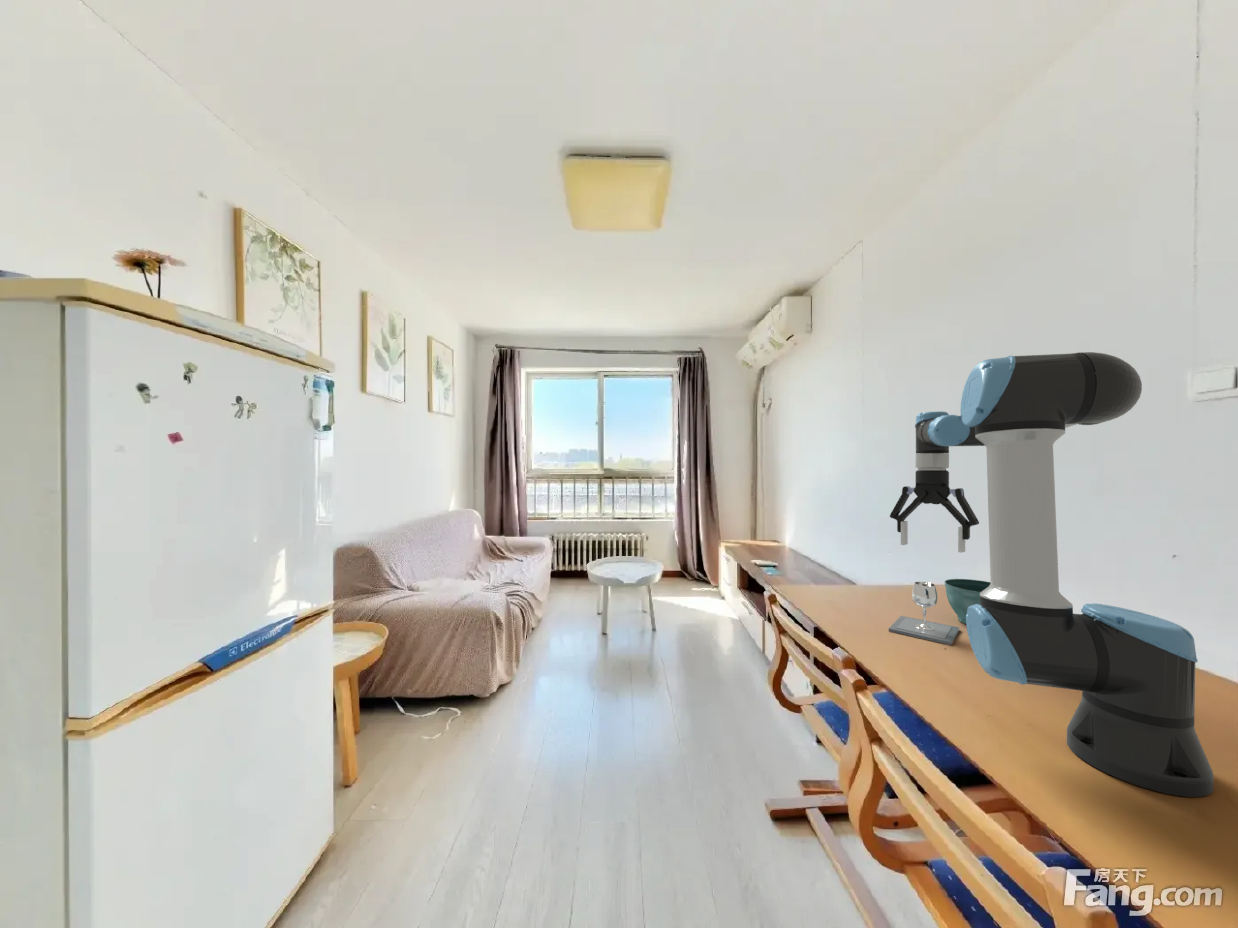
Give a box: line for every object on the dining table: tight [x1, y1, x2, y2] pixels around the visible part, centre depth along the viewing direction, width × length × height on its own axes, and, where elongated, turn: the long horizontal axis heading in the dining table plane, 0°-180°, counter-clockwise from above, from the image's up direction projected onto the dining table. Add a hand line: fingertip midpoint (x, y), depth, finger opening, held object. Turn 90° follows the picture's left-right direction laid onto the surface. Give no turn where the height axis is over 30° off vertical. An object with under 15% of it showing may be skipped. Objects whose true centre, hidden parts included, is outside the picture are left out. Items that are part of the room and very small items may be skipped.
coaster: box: [888, 615, 960, 646], centre depth 127 cm, size 14×14×1 cm
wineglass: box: [911, 581, 938, 631], centre depth 127 cm, size 6×6×12 cm
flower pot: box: [944, 578, 991, 624], centre depth 133 cm, size 16×16×11 cm
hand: (931, 548), depth 126 cm, fingers open, 13 cm apart
